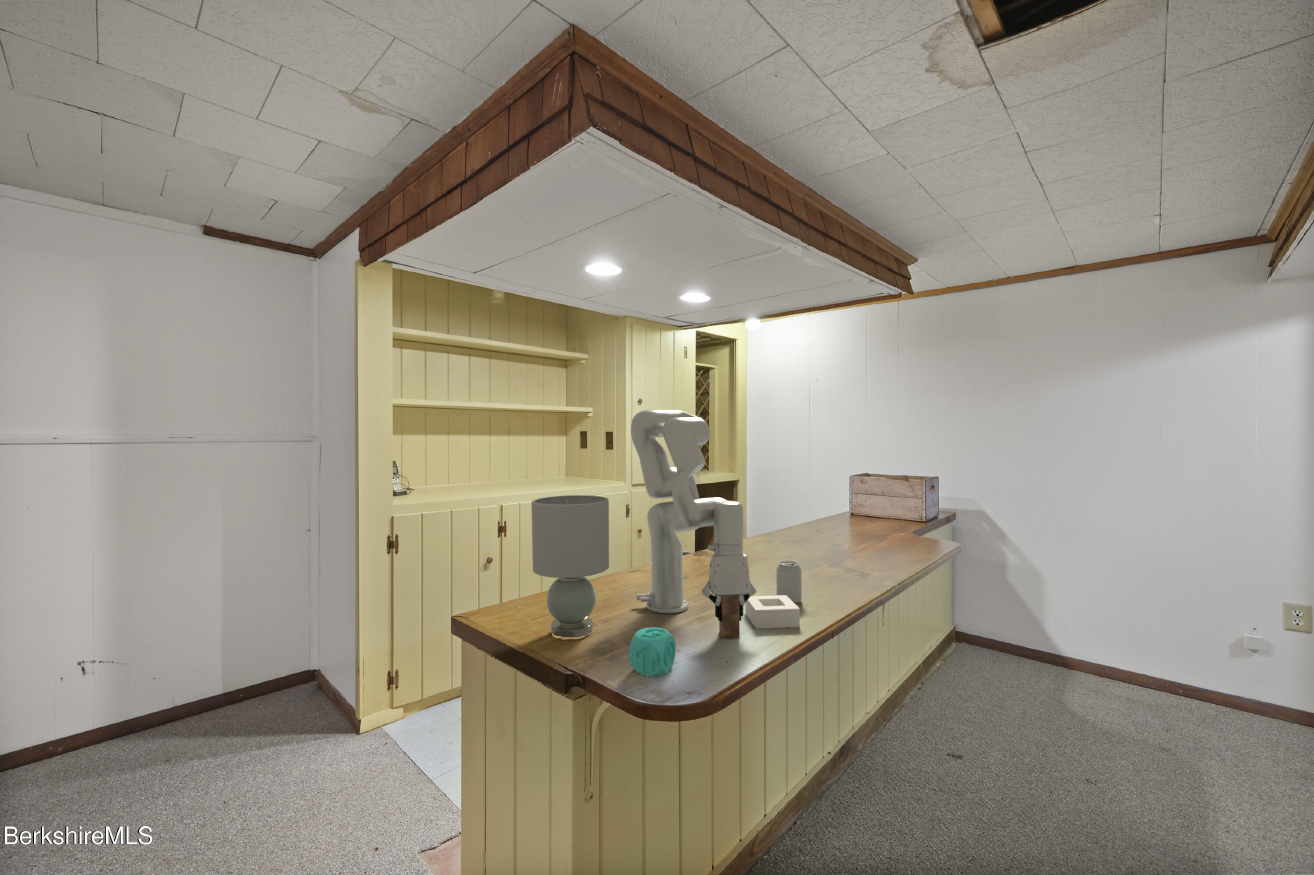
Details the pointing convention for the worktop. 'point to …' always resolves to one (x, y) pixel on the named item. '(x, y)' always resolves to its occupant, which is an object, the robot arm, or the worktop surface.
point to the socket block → (772, 612)
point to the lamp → (570, 556)
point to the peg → (729, 617)
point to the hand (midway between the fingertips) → (729, 618)
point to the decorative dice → (652, 651)
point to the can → (789, 580)
